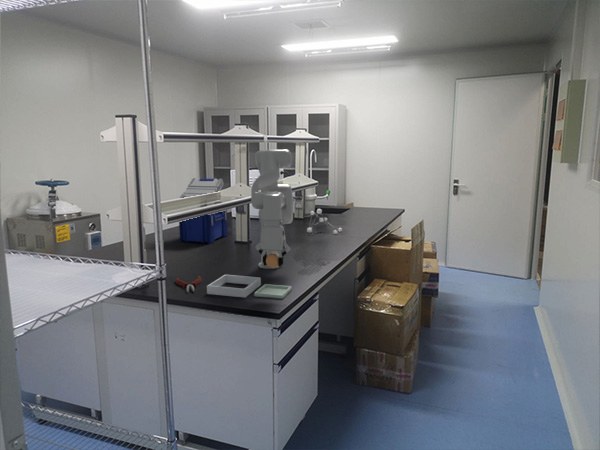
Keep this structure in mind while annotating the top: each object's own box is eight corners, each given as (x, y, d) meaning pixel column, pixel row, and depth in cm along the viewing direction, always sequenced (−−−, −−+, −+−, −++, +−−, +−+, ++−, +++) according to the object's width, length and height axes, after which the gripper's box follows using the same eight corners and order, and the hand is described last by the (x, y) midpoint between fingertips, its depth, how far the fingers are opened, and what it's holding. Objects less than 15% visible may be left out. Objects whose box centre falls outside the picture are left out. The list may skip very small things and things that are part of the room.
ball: (268, 265, 194) (268, 251, 193) (282, 266, 193) (281, 252, 192) (263, 268, 189) (263, 255, 188) (277, 269, 187) (277, 255, 186)
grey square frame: (225, 281, 209) (225, 274, 208) (260, 284, 204) (260, 277, 203) (207, 293, 192) (206, 285, 192) (245, 297, 187) (245, 289, 187)
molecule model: (307, 233, 329) (309, 209, 331) (341, 235, 326) (343, 210, 328) (305, 232, 315) (307, 206, 317) (341, 234, 312) (343, 208, 314)
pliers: (177, 295, 191) (176, 289, 191) (175, 282, 210) (175, 276, 210) (204, 293, 195) (204, 287, 194) (200, 280, 214) (200, 274, 213)
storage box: (209, 244, 285) (207, 181, 278) (177, 243, 291) (173, 180, 284) (228, 235, 313) (227, 178, 306) (198, 234, 319) (196, 177, 311)
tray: (264, 287, 201) (264, 283, 200) (291, 289, 197) (291, 286, 197) (254, 296, 189) (254, 292, 189) (282, 299, 185) (282, 295, 185)
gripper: (294, 222, 189) (295, 264, 192) (256, 221, 193) (257, 262, 197) (289, 225, 182) (289, 269, 185) (249, 224, 186) (250, 266, 189)
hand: (273, 265), depth 191 cm, fingers closed on ball, 5 cm apart
